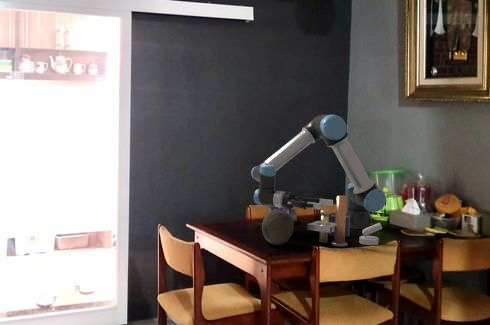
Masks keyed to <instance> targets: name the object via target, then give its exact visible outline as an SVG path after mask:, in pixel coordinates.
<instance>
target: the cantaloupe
mask: <svg viewBox="0 0 490 325" xmlns="http://www.w3.org/2000/svg"><path fill="white" fill-rule="evenodd" d="M268 212H269V211H268ZM268 212H267V214H265V216H264V217H263V220H262V223H261V232H262V236H263V237H264V238H265V240H266V241H267V242H268V243H269V244H270V245H273V246H277V247H278V246H282V245H284V244H285V243H287V242H288V241H289V239H290V238H291V237H292V235H293V232H294V227H295V225H294V224H295V223H294V222H293V219H292V218H291V216H290V215H289V214H288V213H286V212H283V211H271V212H269V213H268Z"/></svg>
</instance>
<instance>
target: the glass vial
mask: <svg viewBox="0 0 490 325" xmlns="http://www.w3.org/2000/svg"><path fill="white" fill-rule="evenodd" d="M319 211H320V215H321V216H320V221H321V225H326V226H327V225H328V223H329V220H330V215H331V211H330V210H329V209H321V210H319ZM328 236H329V233H327V232H320V231H319V243H321V244H327V243H328Z"/></svg>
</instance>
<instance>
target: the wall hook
mask: <svg viewBox="0 0 490 325" xmlns="http://www.w3.org/2000/svg"><path fill="white" fill-rule="evenodd" d="M382 229H383V226H382V224H381V223H380V222H377V223H375V224H372V226H370V227H368V228H365V229H362V235H361V236H359V239H358V240H359V241H358V242H359V243H360V244H361V245H366V246H378V245H379V244H380V241H379V240H380V238H379V237H378V236H373V235H371V234H374V233H375V232H377V231H380V230H382Z"/></svg>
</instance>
